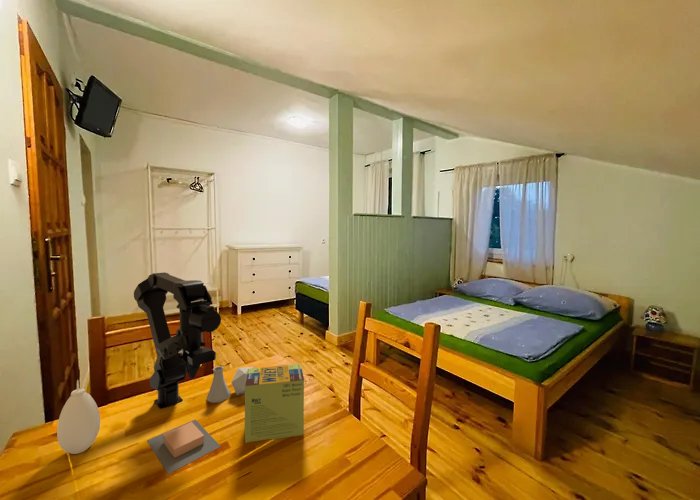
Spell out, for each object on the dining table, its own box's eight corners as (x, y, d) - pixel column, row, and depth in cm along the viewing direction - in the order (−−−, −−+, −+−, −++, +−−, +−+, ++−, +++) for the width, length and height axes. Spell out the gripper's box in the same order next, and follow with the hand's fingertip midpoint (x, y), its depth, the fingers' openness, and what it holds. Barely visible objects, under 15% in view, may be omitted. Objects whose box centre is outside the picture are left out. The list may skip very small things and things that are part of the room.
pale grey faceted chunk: (247, 403, 97) (264, 374, 101) (222, 390, 97) (241, 360, 101) (250, 399, 105) (266, 372, 109) (227, 386, 105) (244, 359, 109)
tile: (162, 434, 77) (173, 449, 72) (191, 421, 82) (204, 435, 77) (162, 443, 77) (174, 459, 72) (191, 430, 83) (204, 444, 77)
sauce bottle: (67, 444, 77) (64, 375, 76) (105, 437, 80) (103, 370, 79) (51, 466, 70) (48, 390, 69) (94, 457, 73) (91, 384, 72)
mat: (146, 441, 78) (146, 440, 78) (195, 420, 87) (195, 419, 87) (168, 475, 68) (167, 473, 68) (220, 447, 77) (220, 446, 77)
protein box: (304, 435, 82) (304, 379, 81) (244, 444, 78) (244, 386, 77) (300, 412, 92) (301, 363, 91) (247, 419, 88) (247, 367, 87)
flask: (221, 405, 95) (221, 374, 95) (201, 402, 97) (200, 372, 96) (234, 393, 102) (234, 364, 102) (215, 391, 104) (215, 362, 103)
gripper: (148, 324, 87) (150, 376, 88) (171, 340, 75) (172, 401, 76) (189, 316, 95) (190, 364, 96) (216, 330, 83) (217, 385, 84)
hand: (191, 377), depth 88 cm, fingers closed
